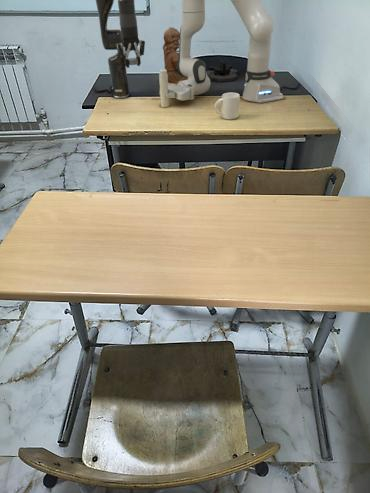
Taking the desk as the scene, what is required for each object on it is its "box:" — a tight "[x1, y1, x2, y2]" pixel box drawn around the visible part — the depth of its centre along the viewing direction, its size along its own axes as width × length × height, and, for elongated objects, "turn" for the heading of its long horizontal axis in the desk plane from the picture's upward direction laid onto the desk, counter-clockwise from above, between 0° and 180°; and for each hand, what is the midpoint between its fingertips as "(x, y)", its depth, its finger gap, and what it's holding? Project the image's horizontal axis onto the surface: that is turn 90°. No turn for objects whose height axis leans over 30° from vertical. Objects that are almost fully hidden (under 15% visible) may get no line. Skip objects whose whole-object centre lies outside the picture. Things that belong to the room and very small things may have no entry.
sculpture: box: [157, 27, 188, 86], centre depth 214 cm, size 27×24×30 cm
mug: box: [214, 92, 241, 120], centre depth 173 cm, size 12×8×10 cm
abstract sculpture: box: [206, 58, 239, 83], centre depth 227 cm, size 25×9×20 cm
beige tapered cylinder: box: [158, 69, 170, 108], centre depth 186 cm, size 4×4×18 cm
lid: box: [128, 57, 138, 66], centre depth 169 cm, size 5×5×2 cm
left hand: (133, 66), depth 170 cm, fingers closed on lid, 5 cm apart
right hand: (162, 94), depth 188 cm, fingers closed on beige tapered cylinder, 4 cm apart
